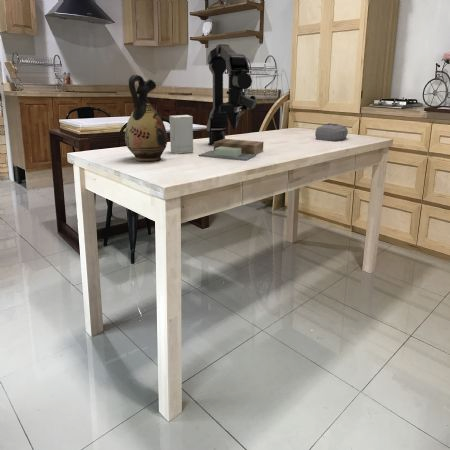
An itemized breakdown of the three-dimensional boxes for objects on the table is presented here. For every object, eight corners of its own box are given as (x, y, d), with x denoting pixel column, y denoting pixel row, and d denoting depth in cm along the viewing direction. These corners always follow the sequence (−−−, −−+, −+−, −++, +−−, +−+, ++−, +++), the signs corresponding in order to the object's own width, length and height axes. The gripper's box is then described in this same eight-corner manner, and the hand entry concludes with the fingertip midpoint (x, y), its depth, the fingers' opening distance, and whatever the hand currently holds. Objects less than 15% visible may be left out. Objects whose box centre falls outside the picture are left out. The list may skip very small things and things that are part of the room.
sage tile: (220, 146, 172) (220, 152, 173) (214, 148, 167) (214, 154, 168) (241, 148, 169) (241, 154, 170) (235, 150, 164) (235, 156, 164)
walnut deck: (213, 151, 178) (213, 142, 176) (224, 147, 188) (224, 138, 187) (254, 155, 171) (254, 145, 170) (263, 151, 182) (263, 141, 180)
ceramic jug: (144, 154, 168) (141, 74, 158) (176, 158, 161) (174, 75, 151) (114, 160, 154) (108, 73, 144) (146, 165, 147) (143, 74, 137)
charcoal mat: (198, 156, 167) (198, 154, 167) (211, 151, 178) (211, 150, 177) (246, 160, 160) (246, 159, 160) (256, 155, 171) (256, 154, 170)
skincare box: (188, 150, 179) (188, 114, 174) (193, 153, 174) (193, 116, 169) (169, 151, 175) (168, 115, 170) (174, 154, 170) (173, 116, 165)
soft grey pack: (337, 142, 213) (352, 138, 229) (339, 125, 211) (354, 123, 226) (310, 139, 222) (326, 136, 237) (311, 123, 219) (327, 120, 234)
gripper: (246, 89, 155) (245, 132, 160) (262, 89, 171) (260, 128, 176) (219, 88, 159) (218, 130, 164) (236, 88, 175) (235, 126, 180)
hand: (234, 129), depth 171 cm, fingers closed
